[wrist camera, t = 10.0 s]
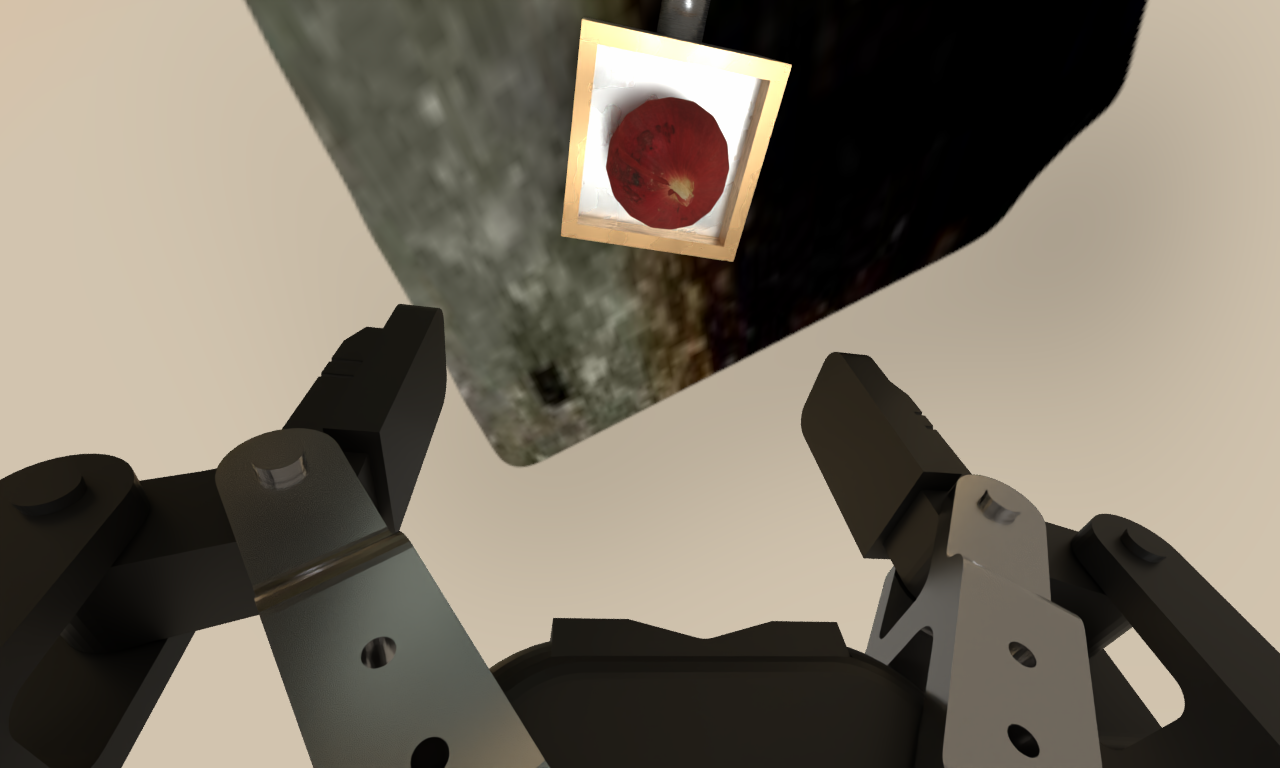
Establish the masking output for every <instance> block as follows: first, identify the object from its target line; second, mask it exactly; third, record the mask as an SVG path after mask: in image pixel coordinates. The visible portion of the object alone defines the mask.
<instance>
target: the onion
mask: <svg viewBox="0 0 1280 768" xmlns="http://www.w3.org/2000/svg"><path fill="white" fill-rule="evenodd" d="M606 170H607V174H608V178H609V181H610V185H611V189H612V192H613V195H614V197H615V199H616V200H617V201H618V202H619V203H620V205H621V206H622V207H623V208H624V209H625V211H626V212H627V213H628V214H629V216H631V217H633V218H635V219H636V220H638V221H640V222H642V223H644V224H645V225H647V226H649V227H651V228H659V229H669V230H673V229H677V228H682V227H687V226H691V225H693V224H695V223H696V222H697V221H699V220H700V219H701V218H703V217H704V216H705V215H707V214H708V213H709V212H711V210H712V209H713V207H714V206H715V204H716V203H717V201H718V200H719V198H720V197H721V195H722V194H723V192H724V188H725V184H726V180H727V176H728V172H729V156H728V143H727V141H726V139H725V137H724V135H723V133H722V131H721V129H720V127H719V125H718V123H717V121H716V119H715V117H714V116H713V115H712V114H710V113H709V112H708V111H706V110H705V109H704V108H702V107H701V106H700V105H698V104H697V103H696V102H694V101H690V100H685V99H680V98H675V97H667V98H661V99H655V100H649V101H646V102H645V103H643V104H642V105H640V106H639V107H637V108H636V109H634V110H633V111H631V112H630V113H628V114H627V115H626V116H625V118H624V119H623V121H622V122H621V124H620V125H619V127H618V128H617V130H616V131H615V132H614V134H613V135H612V137H611V139H610V143H609V150H608V156H607V162H606Z"/></svg>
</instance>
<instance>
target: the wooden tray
mask: <svg viewBox="0 0 1280 768" xmlns="http://www.w3.org/2000/svg"><path fill="white" fill-rule="evenodd" d="M709 5H710V0H662V3H661V9H660V15H659V21H658V27H657V33H656V32H651V31H647V30H642V29H638V28H633V27H629V26H624V25H619V24H615V23H610V22H606V21H601V20H597V19H592V18H588V17H583V19H582V25H581V36H580V46H579V56H578V66H577V77H576V87H575V97H574V107H573V117H572V128H571V138H570V148H569V158H568V169H567V179H566V189H565V199H564V209H563V220H562V230H561V236H564V237H570V238H577V239H584V240H591V241H597V242H604V243H611V244H617V245H624V246H631V247H637V248H644V249H651V250H658V251H664V252H671V253H678V254H684V255H691V256H698V257H704V258H711V259H718V260H725V261H731V262H733V260H734V257H735V254H736V250H737V247H738V244H739V240H740V237H741V234H742V230H743V227H744V224H745V220H746V217H747V214H748V210H749V207H750V204H751V200H752V197H753V194H754V190H755V187H756V183H757V180H758V177H759V173H760V170H761V167H762V163H763V160H764V157H765V153H766V150H767V147H768V143H769V140H770V137H771V133H772V130H773V127H774V123H775V120H776V117H777V113H778V110H779V107H780V103H781V100H782V96H783V93H784V90H785V86H786V83H787V80H788V76H789V73H790V70H791V66H792V65H790V64H787V63H784V62H780V61H777V60H773V59H770V58H767V57H763V56H760V55H756V54H752V53H747V52H743V51H738V50H734V49H729V48H724V47H720V46H715V45H711V44H706V43H702V38H703V33H704V29H705V24H706V19H707V14H708V9H709ZM667 97H675V98H680V99H685V100H690V101H694V102H696V103H697V104H698V105H700V106H701V107H702V108H704V109H705V110H706V111H708V112H709V113H710V114H712V115H713V116H714V117H715V119H716V121H717V123H718V125H719V127H720V129H721V131H722V133H723V135H724V137H725V139H726V141H727V143H728V156H729V172H728V176H727V180H726V184H725V188H724V192H723V194H722V195H721V197H720V198H719V200H718V201H717V203H716V204H715V206H714V207H713V209H712V210H711V212H709V213H708V214H707V215H705V216H704V217H703V218H701V219H700V220H699V221H697V222H696V223H695V224H693V225H691V226H687V227H682V228H677V229H673V230H669V229H659V228H651V227H649V226H647V225H645V224H644V223H642V222H640V221H638V220H636V219H635V218H633V217H631V216H629V214H628V213H627V212H626V211H625V209H624V208H623V207H622V206H621V205H620V203H619V202H618V201H617V200H616V199H615V197H614V195H613V192H612V189H611V185H610V181H609V178H608V174H607V170H606V162H607V156H608V150H609V143H610V139H611V137H612V135H613V134H614V132H615V131H616V130H617V128H618V127H619V125H620V124H621V122H622V121H623V119H624V118H625V116H626V115H627V114H628V113H630V112H631V111H633V110H634V109H636V108H637V107H639V106H640V105H642V104H643V103H645V102H646V101H649V100H655V99H661V98H667Z"/></svg>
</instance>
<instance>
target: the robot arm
mask: <svg viewBox="0 0 1280 768" xmlns="http://www.w3.org/2000/svg"><path fill="white" fill-rule="evenodd" d="M446 381H447V373H446V354H445V335H444V318H443V313H442V310H441V309H440V308H433V307H423V306H414V305H405V304H398V305H397V306H396V308H395V310H394V311H393V313H392V315H391V316H390V318H389V320H388V321H387V323H386V324H385V326H384V328H372V327H366V328H364V329H362V330H360V331H359V332H357V333H356V334H354V335H352V336H351V337H349V338H347V339H346V340H344V341H343V343H342V344H341V346H340V347H339V348H338V350H337V351H336V353H335V354H334V355H333V357H332V361H331V362H329V363H328V364H327V365H326V367H325V368H324V370H323V371H322V373H321V377H318V378H317V380H316V381H315V383H314V384H313V386H312V387H311V388H310V390H309V391H308V393H307V394H306V395H305V397H304V398H303V400H302V401H301V403H300V404H299V406H298V407H297V408H296V410H295V411H294V413H293V414H292V415H291V417H290V419H289V420H288V421H287V423H286V424H285V426H284V427H283V428H282V430H276V431H272V432H268V433H264V434H262V435H259V436H256V437H254V438H251V439H250V440H247V441H245V442H244V443H242V444H240V445H238V446H237V447H236V448H234V449H233V450H232V451H230V452H229V453H228V454H227V455H226V456H225V457H224V458H223V460H222V461H221V463H220V464H219V466H218V468H216V469H212V470H206V471H201V472H195V473H188V474H181V475H175V476H168V477H163V478H155V479H149V480H142V481H139V480H138V478H137V476H136V475H135V473H134V471H133V470H132V468H131V466H130V465H129V464H128V463H127V462H125V461H124V460H122V459H120V458H117V457H115V456H110V455H103V454H79V455H70V456H65V457H60V458H55V459H51V460H47V461H44V462H40V463H38V464H35V465H32V466H29V467H26V468H24V469H22V470H19V471H17V472H15V473H13V474H11V475H9V476H7V477H5V478H3V479H1V480H0V768H121V767H122V766H123V763H124V762H125V760H126V758H127V756H128V754H129V752H130V751H131V749H132V747H133V745H134V743H135V742H136V740H137V738H138V736H139V734H140V732H141V731H142V729H143V727H144V725H145V723H146V721H147V719H148V718H149V716H150V714H151V712H152V710H153V708H154V707H155V705H156V703H157V701H158V699H159V697H160V696H161V694H162V692H163V690H164V688H165V686H166V684H167V683H168V681H169V679H170V677H171V675H172V673H173V672H174V669H175V668H176V666H177V664H178V662H179V661H180V659H181V657H182V655H183V653H184V651H185V649H186V647H187V646H188V644H189V642H190V640H191V638H192V637H193V635H194V633H195V631H197V630H201V629H205V628H209V627H213V626H216V625H221V624H224V623H228V622H232V621H236V620H240V619H244V618H248V617H251V616H256V615H260V618H261V621H262V624H263V626H264V629H265V632H266V635H267V638H268V641H269V644H270V646H271V649H272V652H273V655H274V657H275V660H276V663H277V666H278V669H279V672H280V675H281V677H282V680H283V683H284V686H285V689H286V692H287V694H288V697H289V700H290V703H291V706H292V708H293V711H294V714H295V717H296V720H297V723H298V726H299V728H300V731H301V734H302V737H303V740H304V742H305V745H306V748H307V751H308V754H309V756H310V760H311V762H312V765H313V768H1280V653H1279V652H1278V651H1277V650H1275V648H1274V647H1273V646H1271V644H1270V643H1269V642H1268V641H1267V640H1266V639H1265V638H1264V637H1263V636H1262V635H1261V634H1260V633H1259V632H1258V631H1257V630H1256V629H1255V628H1254V627H1252V625H1251V624H1250V623H1249V622H1247V620H1246V619H1245V618H1244V617H1243V616H1241V614H1240V613H1238V612H1237V610H1236V609H1235V608H1234V607H1233V606H1231V604H1230V603H1228V602H1227V601H1226V599H1224V598H1223V597H1222V596H1221V595H1220V594H1219V593H1218V592H1217V591H1216V590H1215V589H1214V588H1213V587H1212V586H1211V585H1210V584H1209V583H1208V582H1207V581H1206V580H1205V579H1204V578H1203V577H1202V576H1201V575H1200V574H1199V573H1198V572H1197V571H1196V570H1195V569H1194V568H1193V567H1192V566H1191V565H1190V564H1189V563H1188V562H1187V561H1186V560H1185V559H1184V558H1183V557H1182V556H1181V555H1180V554H1179V553H1178V552H1177V551H1176V550H1175V549H1174V548H1173V547H1172V546H1171V545H1170V544H1168V543H1167V542H1166V541H1164V540H1163V539H1162V538H1161V537H1159V536H1158V535H1156V534H1155V533H1153V532H1151V531H1150V530H1148V529H1147V528H1145V527H1143V526H1141V525H1139V524H1137V523H1135V522H1133V521H1131V520H1128V519H1126V518H1123V517H1120V516H1116V515H1111V514H1099V515H1096V516H1095V517H1094V518H1092V519H1091V520H1090V521H1089V522H1088V523H1087V525H1085V526H1084V527H1083V528H1082V529H1081V530H1080V531H1079V532H1077V531H1074V530H1071V529H1067V528H1064V527H1061V526H1058V525H1054V524H1051V523H1048V522H1045V521H1044V519H1043V517H1042V515H1041V514H1040V512H1039V511H1038V510H1037V508H1036V507H1035V506H1034V505H1033V504H1032V503H1031V502H1030V501H1029V500H1028V499H1027V498H1026V497H1024V496H1023V495H1022V494H1020V493H1019V492H1018V491H1016V490H1015V489H1013V488H1011V487H1010V486H1008V485H1006V484H1004V483H1002V482H1000V481H998V480H995V479H992V478H989V477H986V476H981V475H972V474H971V473H970V471H969V470H968V469H967V468H966V466H965V465H964V464H963V463H962V462H961V460H960V459H959V458H958V457H957V455H956V454H955V453H954V452H953V450H952V449H951V448H950V447H949V445H948V444H947V443H946V442H945V440H944V439H943V438H942V437H941V435H940V434H939V433H938V432H937V430H933V425H932V424H931V423H930V422H929V420H928V419H927V418H926V417H925V416H922V412H921V411H920V409H919V408H918V407H917V405H916V404H915V403H914V402H913V401H912V399H911V398H910V397H909V396H908V395H907V394H906V393H905V392H903V391H902V390H901V389H899V388H898V387H897V386H895V385H894V384H893V383H891V382H890V381H889V380H888V378H887V377H886V376H885V374H884V373H883V372H882V371H881V369H880V368H879V367H878V365H877V364H876V363H875V362H874V360H873V359H872V358H871V357H869V356H867V355H859V354H850V353H840V352H833V353H831V354H829V356H828V357H827V358H826V359H825V361H824V363H823V366H822V368H821V370H820V372H819V374H818V377H817V379H816V381H815V383H814V385H813V388H812V390H811V392H810V394H809V396H808V399H807V401H806V403H805V405H804V408H803V411H802V417H801V428H802V433H803V435H804V437H805V440H806V442H807V444H808V446H809V448H810V450H811V452H812V454H813V456H814V458H815V460H816V462H817V464H818V466H819V468H820V470H821V472H822V474H823V476H824V478H825V480H826V483H827V485H828V487H829V489H830V491H831V493H832V495H833V497H834V499H835V501H836V503H837V505H838V507H839V509H840V511H841V513H842V515H843V517H844V519H845V521H846V523H847V525H848V527H849V529H850V531H851V533H852V535H853V537H854V540H855V542H856V544H857V545H858V547H859V550H860V552H861V554H862V556H863V558H871V559H891V561H892V563H893V564H894V566H893V568H892V569H891V570H890V572H889V573H888V574H887V576H886V579H885V582H884V585H883V589H882V593H881V597H880V600H879V604H878V608H877V612H876V616H875V619H874V623H873V627H872V631H871V634H870V638H869V642H868V646H867V649H866V652H865V654H864V653H862V652H859V651H857V650H854V649H852V648H849V647H846V644H845V642H844V639H843V637H842V634H841V632H840V629H839V627H838V624H837V622H789V621H788V622H787V621H771V622H768V623H764V624H761V625H757V626H753V627H750V628H746V629H743V630H739V631H735V632H732V633H728V634H725V635H721V636H718V637H714V638H710V639H700V638H696V637H692V636H688V635H685V634H681V633H677V632H674V631H670V630H666V629H663V628H659V627H655V626H651V625H648V624H644V623H640V622H637V621H633V620H629V619H581V618H553V624H552V631H551V638H550V641H549V642H545V643H542V644H538V645H534V646H532V647H529V648H527V649H524V650H522V651H519V652H517V653H515V654H513V655H511V656H509V657H507V658H506V659H504V660H502V661H500V662H498V663H497V664H495V665H494V666H492V667H491V668H490V669H489V668H488V667H487V665H486V663H485V662H484V660H483V659H482V657H481V655H480V654H479V652H478V651H477V649H476V647H475V646H474V644H473V642H472V641H471V639H470V638H469V636H468V634H467V633H466V631H465V630H464V628H463V626H462V625H461V623H460V621H459V620H458V618H457V616H456V615H455V613H454V612H453V610H452V608H451V607H450V605H449V603H448V602H447V600H446V599H445V597H444V595H443V594H442V592H441V590H440V589H439V587H438V586H437V584H436V582H435V581H434V579H433V577H432V576H431V574H430V573H429V571H428V569H427V568H426V566H425V564H424V563H423V561H422V560H421V558H420V556H419V555H418V553H417V551H416V550H415V548H414V547H413V545H412V544H411V542H410V541H409V539H408V538H407V537H406V536H405V535H404V534H403V533H402V532H400V531H399V530H400V527H401V524H402V521H403V518H404V515H405V512H406V510H407V507H408V504H409V501H410V498H411V495H412V493H413V490H414V487H415V484H416V481H417V478H418V475H419V473H420V470H421V467H422V464H423V461H424V458H425V455H426V452H427V450H428V447H429V444H430V441H431V438H432V435H433V432H434V429H435V426H436V423H437V421H438V418H439V415H440V412H441V409H442V406H443V403H444V399H445V392H446ZM1132 627H1133V628H1134V629H1135V630H1136V632H1137V633H1138V634H1139V635H1140V636H1141V638H1142V639H1143V640H1144V641H1145V643H1146V644H1147V645H1148V646H1149V648H1150V649H1151V650H1152V651H1153V653H1155V655H1156V656H1157V657H1158V659H1159V660H1160V661H1161V663H1162V664H1163V665H1164V666H1165V667H1166V669H1167V670H1168V671H1169V672H1170V673H1171V675H1172V676H1173V677H1174V678H1175V680H1176V681H1177V682H1178V684H1179V686H1180V688H1181V690H1182V692H1183V695H1184V699H1185V708H1184V712H1183V714H1182V715H1181V717H1180V718H1178V719H1177V720H1176V721H1174V722H1172V723H1170V724H1168V725H1167V726H1165V727H1163V728H1162V727H1161V726H1160V725H1159V723H1158V722H1157V721H1156V719H1155V718H1154V717H1153V715H1152V714H1151V712H1150V711H1149V710H1148V708H1147V707H1146V706H1145V704H1144V703H1143V702H1142V700H1141V699H1140V698H1139V696H1138V695H1137V694H1136V692H1135V691H1134V690H1133V688H1132V687H1131V685H1130V684H1129V683H1128V681H1127V680H1126V679H1125V677H1124V676H1123V675H1122V673H1121V672H1120V670H1119V669H1118V668H1117V666H1116V665H1115V664H1114V662H1113V661H1112V660H1111V658H1110V657H1109V656H1108V654H1107V653H1106V651H1105V650H1104V649H1103V648H1105V647H1106V646H1107V645H1109V644H1110V643H1112V642H1113V641H1114V640H1116V639H1117V638H1118V637H1120V636H1121V635H1122V634H1124V633H1125V632H1126V631H1128V630H1129V629H1130V628H1132Z"/></svg>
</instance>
